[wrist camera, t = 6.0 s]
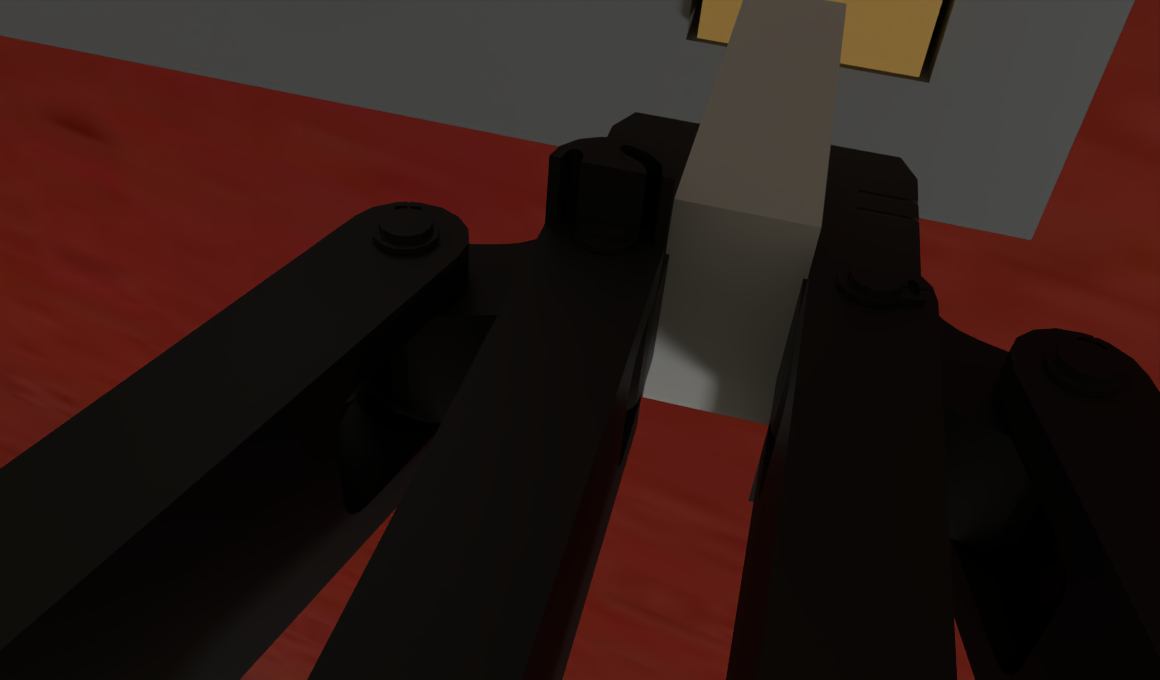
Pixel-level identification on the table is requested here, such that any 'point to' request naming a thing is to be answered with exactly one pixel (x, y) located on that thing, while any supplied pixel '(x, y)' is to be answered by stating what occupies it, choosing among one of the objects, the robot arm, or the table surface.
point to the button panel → (638, 74)
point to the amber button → (856, 31)
